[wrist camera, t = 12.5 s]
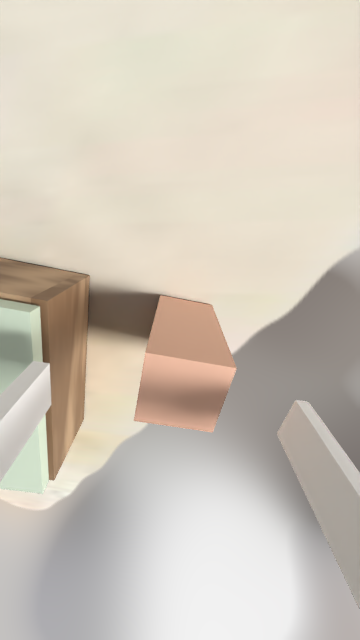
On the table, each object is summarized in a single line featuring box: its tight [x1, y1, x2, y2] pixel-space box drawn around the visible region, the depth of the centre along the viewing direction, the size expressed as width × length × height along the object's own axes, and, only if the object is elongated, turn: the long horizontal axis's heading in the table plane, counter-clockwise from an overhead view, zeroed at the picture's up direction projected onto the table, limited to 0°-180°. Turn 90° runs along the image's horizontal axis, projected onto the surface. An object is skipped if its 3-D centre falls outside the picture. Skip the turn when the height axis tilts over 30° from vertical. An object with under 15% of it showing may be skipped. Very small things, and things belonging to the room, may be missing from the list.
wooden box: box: [0, 258, 90, 480], centre depth 20 cm, size 12×18×7 cm, turn 168°
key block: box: [134, 295, 236, 432], centre depth 17 cm, size 5×5×10 cm
